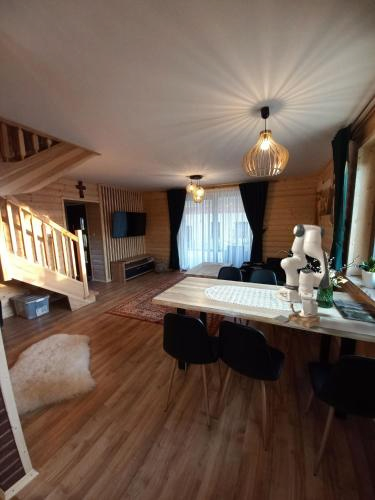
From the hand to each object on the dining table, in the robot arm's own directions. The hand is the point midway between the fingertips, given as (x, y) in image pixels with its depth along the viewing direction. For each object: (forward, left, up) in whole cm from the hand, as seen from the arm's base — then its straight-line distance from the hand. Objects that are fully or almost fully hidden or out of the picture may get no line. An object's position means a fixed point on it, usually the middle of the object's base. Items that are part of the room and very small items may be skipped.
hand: (305, 312), depth 139 cm
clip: (-8, -1, -1) cm, 8 cm away
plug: (-1, 0, -7) cm, 7 cm away
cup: (-6, +17, -7) cm, 19 cm away
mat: (-10, -9, -7) cm, 15 cm away
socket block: (-1, 0, -7) cm, 7 cm away
